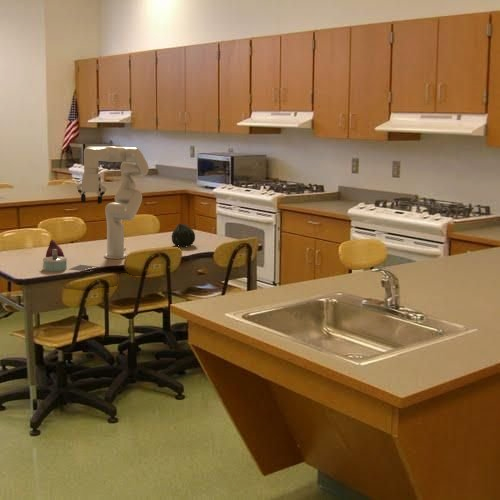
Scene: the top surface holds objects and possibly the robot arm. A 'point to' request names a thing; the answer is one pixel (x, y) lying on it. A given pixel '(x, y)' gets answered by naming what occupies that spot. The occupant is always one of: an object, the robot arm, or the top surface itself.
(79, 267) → the mat
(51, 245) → the vegetable
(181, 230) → the squash
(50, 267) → the bowl
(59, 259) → the lid
